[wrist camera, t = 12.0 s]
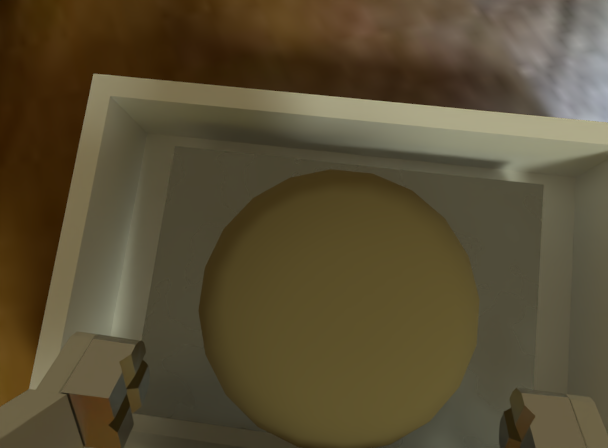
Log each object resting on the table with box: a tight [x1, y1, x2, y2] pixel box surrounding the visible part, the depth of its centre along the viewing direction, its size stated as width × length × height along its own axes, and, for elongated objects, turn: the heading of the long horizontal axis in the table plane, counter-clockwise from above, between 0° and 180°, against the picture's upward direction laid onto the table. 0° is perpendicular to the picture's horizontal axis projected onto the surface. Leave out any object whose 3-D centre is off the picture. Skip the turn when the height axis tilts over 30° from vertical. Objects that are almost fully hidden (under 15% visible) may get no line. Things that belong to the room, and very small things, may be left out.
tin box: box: [134, 146, 544, 448], centre depth 21 cm, size 14×10×2 cm
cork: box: [198, 169, 480, 448], centre depth 14 cm, size 6×6×11 cm
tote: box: [29, 74, 608, 448], centre depth 20 cm, size 20×14×5 cm
